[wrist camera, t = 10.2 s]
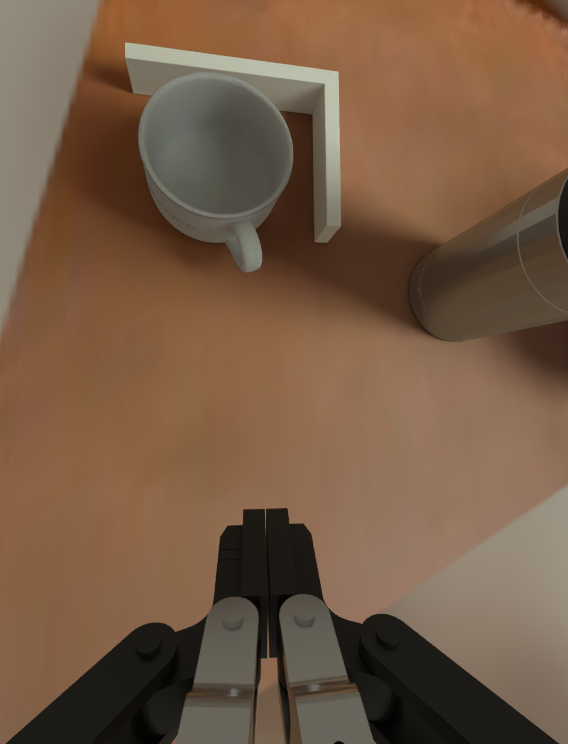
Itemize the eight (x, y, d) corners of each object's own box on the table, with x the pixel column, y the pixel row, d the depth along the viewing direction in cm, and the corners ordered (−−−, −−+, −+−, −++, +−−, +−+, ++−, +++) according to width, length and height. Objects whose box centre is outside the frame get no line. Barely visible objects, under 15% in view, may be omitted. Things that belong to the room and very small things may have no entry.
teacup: (143, 135, 37) (128, 65, 29) (267, 133, 39) (284, 67, 31) (164, 296, 36) (153, 269, 28) (288, 285, 38) (310, 257, 31)
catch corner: (324, 103, 40) (338, 71, 36) (327, 242, 39) (341, 226, 35) (133, 79, 37) (125, 42, 33) (132, 231, 36) (124, 211, 32)
